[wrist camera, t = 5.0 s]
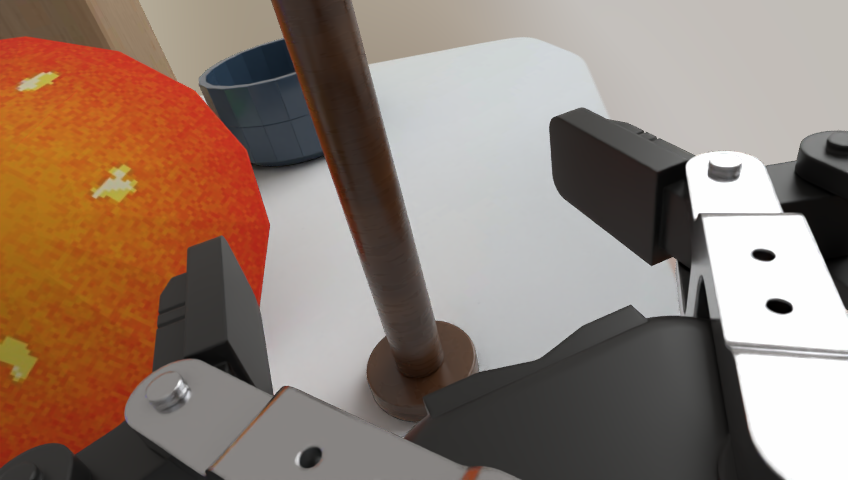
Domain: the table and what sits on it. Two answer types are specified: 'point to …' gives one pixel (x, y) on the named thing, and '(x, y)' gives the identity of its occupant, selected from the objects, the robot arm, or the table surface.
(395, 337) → the stirring stick
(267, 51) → the bowl
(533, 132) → the table surface
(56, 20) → the wooden block
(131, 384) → the decorative mushroom
